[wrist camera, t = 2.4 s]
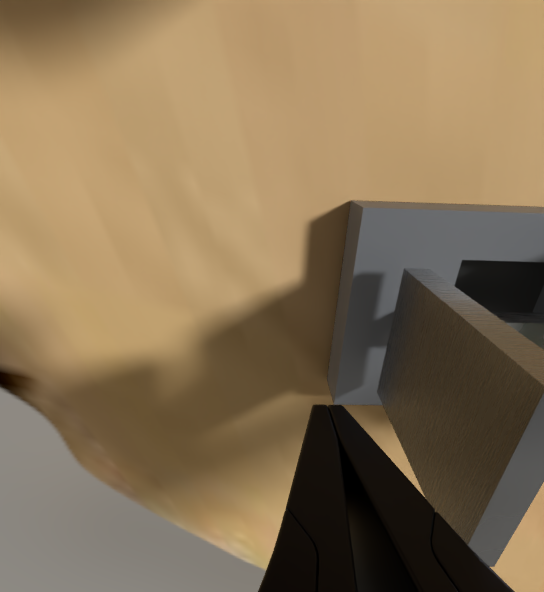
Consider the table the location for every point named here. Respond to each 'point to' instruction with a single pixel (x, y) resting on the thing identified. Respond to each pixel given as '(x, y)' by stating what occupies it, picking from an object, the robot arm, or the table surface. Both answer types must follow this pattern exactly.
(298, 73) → the table surface
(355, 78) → the table surface
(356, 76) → the table surface
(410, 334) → the sled
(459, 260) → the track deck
